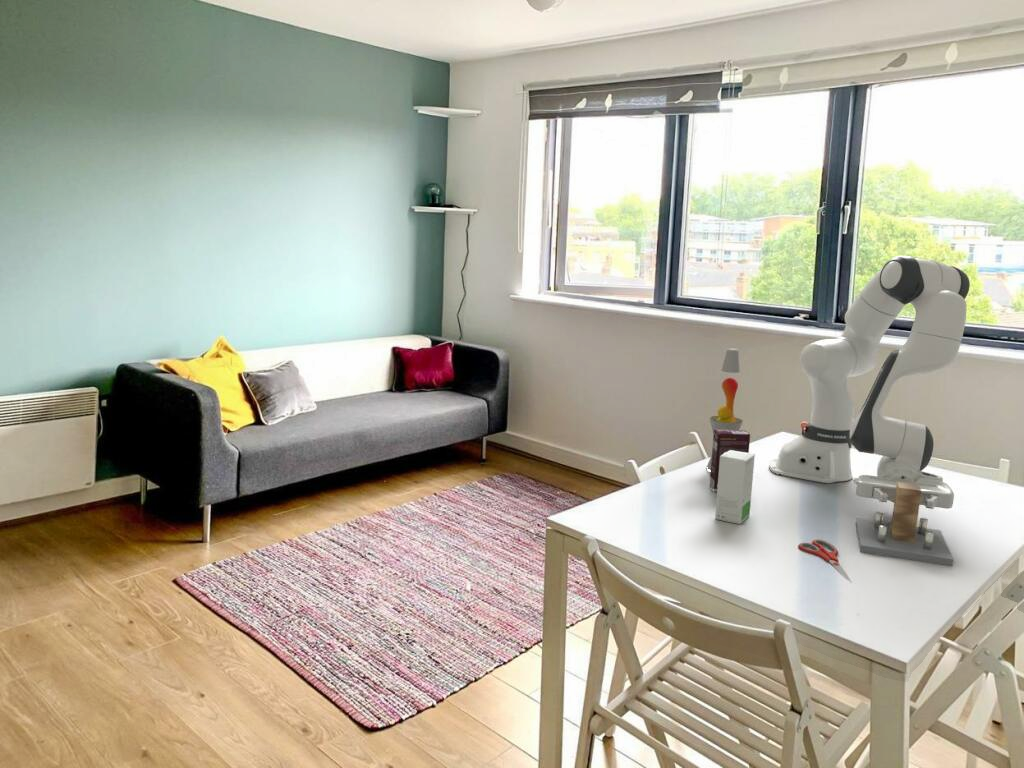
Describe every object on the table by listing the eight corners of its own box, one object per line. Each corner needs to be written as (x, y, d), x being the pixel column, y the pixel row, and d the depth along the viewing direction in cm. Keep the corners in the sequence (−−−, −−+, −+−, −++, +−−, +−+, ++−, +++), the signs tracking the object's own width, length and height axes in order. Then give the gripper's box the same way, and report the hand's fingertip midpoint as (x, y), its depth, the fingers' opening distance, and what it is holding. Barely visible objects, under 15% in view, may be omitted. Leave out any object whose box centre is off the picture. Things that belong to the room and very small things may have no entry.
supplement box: (740, 487, 220) (745, 429, 216) (745, 493, 215) (751, 434, 212) (708, 486, 219) (713, 428, 216) (712, 492, 215) (718, 433, 211)
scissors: (850, 588, 161) (851, 581, 161) (792, 546, 181) (792, 540, 181) (884, 585, 163) (885, 578, 163) (822, 544, 183) (823, 538, 183)
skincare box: (740, 525, 191) (746, 461, 188) (712, 519, 195) (718, 455, 192) (750, 515, 198) (756, 453, 195) (723, 509, 202) (729, 448, 199)
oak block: (891, 539, 182) (898, 487, 180) (890, 532, 186) (896, 481, 184) (914, 542, 181) (921, 490, 178) (911, 535, 185) (919, 484, 183)
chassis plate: (860, 551, 178) (860, 545, 178) (855, 524, 195) (856, 518, 195) (952, 566, 173) (953, 559, 172) (939, 536, 189) (940, 530, 189)
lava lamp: (715, 463, 240) (726, 345, 233) (743, 471, 234) (755, 349, 227) (699, 469, 234) (709, 348, 227) (727, 477, 228) (739, 352, 221)
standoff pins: (877, 542, 180) (879, 527, 180) (873, 525, 190) (875, 511, 190) (931, 550, 177) (934, 534, 176) (925, 533, 187) (927, 518, 186)
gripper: (854, 465, 197) (857, 481, 184) (949, 477, 191) (959, 495, 178) (851, 490, 198) (854, 508, 186) (945, 503, 192) (955, 522, 179)
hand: (906, 502), depth 182 cm, fingers open, 8 cm apart
